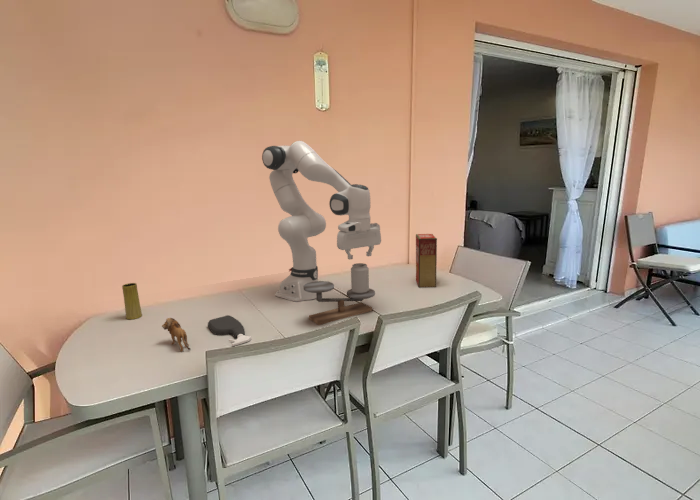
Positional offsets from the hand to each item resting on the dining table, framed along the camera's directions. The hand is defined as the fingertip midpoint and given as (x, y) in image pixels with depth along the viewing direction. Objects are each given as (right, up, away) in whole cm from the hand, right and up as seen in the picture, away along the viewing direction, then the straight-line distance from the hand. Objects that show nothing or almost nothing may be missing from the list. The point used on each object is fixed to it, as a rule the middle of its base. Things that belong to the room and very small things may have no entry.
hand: (359, 257), depth 162 cm
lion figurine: (-65, -31, -25) cm, 76 cm away
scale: (-8, -24, -1) cm, 25 cm away
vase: (-96, -26, +3) cm, 99 cm away
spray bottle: (-49, -29, -15) cm, 59 cm away
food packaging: (+35, -14, +38) cm, 54 cm away
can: (0, -15, +3) cm, 15 cm away
